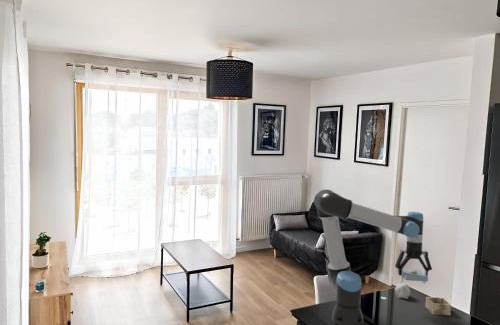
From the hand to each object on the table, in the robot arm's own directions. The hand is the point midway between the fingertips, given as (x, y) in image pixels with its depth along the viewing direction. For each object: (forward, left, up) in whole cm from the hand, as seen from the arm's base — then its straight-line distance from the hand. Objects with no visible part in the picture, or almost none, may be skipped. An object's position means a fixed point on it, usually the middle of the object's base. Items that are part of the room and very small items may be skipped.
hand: (412, 281), depth 194 cm
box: (+14, 0, -16) cm, 21 cm away
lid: (0, 0, +3) cm, 3 cm away
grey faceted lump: (+1, +17, -16) cm, 23 cm away
